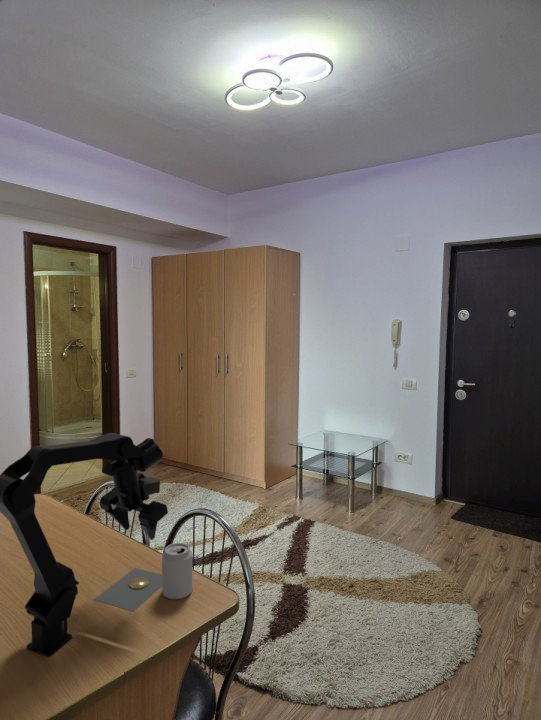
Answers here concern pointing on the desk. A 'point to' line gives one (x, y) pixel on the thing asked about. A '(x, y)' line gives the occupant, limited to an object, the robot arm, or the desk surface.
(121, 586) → the mat
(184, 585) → the can
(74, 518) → the desk surface
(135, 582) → the gold metal dome
